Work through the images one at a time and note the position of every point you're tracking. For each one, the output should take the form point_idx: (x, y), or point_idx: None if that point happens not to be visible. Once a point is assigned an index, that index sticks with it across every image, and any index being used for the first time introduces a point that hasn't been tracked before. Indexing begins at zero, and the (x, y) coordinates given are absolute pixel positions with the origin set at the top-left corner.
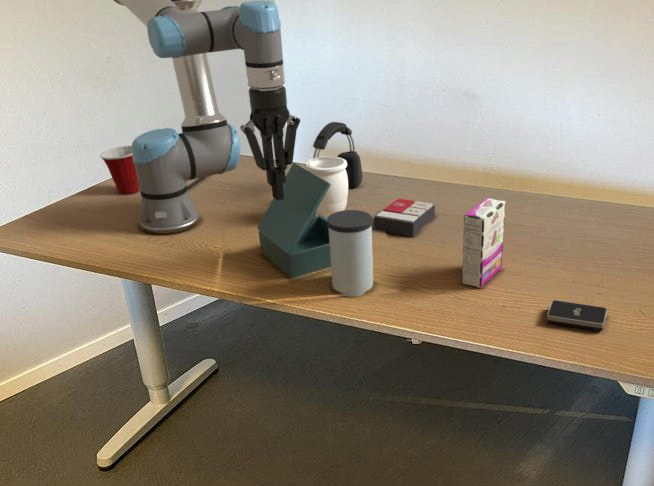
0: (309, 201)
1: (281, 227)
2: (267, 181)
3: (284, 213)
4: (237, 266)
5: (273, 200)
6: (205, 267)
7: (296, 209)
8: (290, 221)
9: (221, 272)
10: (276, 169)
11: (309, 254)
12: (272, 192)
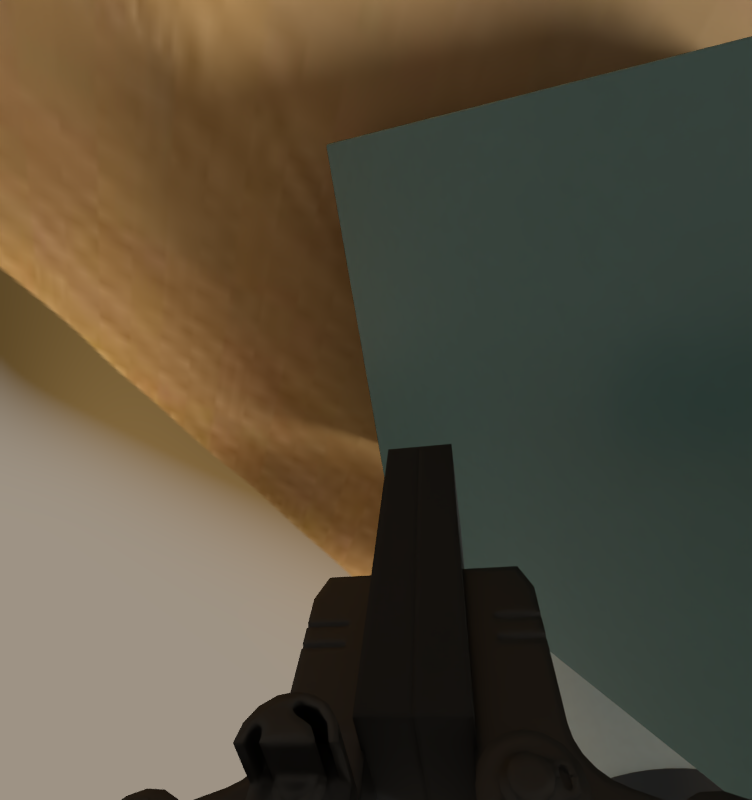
0: (623, 642)
1: (420, 406)
2: (313, 610)
3: (472, 381)
4: (227, 221)
5: (479, 127)
6: (85, 160)
7: (534, 506)
8: (467, 477)
9: (154, 249)
10: (435, 797)
11: None
12: (385, 480)
